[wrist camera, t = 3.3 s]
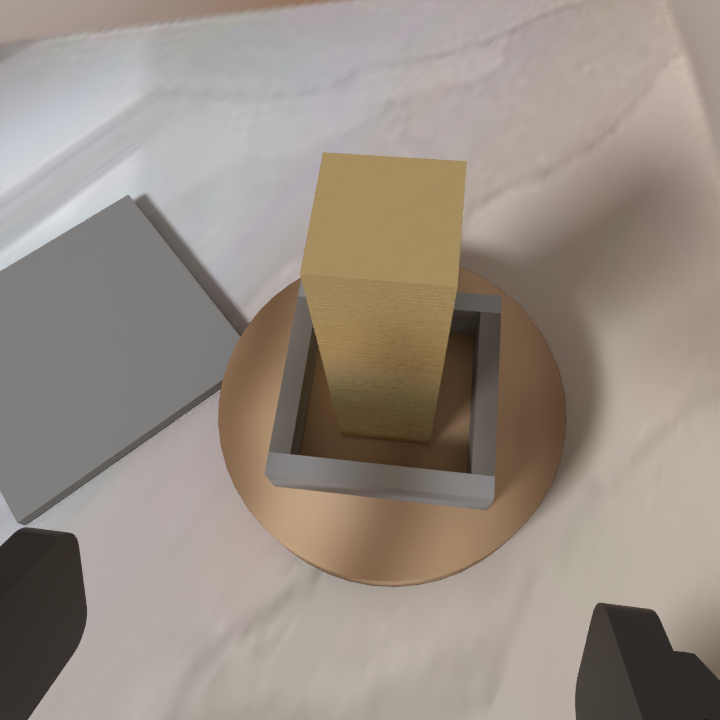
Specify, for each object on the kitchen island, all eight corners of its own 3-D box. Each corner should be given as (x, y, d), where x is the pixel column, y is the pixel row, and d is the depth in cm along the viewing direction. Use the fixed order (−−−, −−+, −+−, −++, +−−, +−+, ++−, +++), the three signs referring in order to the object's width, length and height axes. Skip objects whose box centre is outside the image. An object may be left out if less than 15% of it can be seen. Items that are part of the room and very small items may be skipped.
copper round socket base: (201, 563, 26) (164, 548, 22) (264, 271, 31) (244, 215, 27) (551, 608, 24) (583, 601, 20) (551, 294, 30) (576, 239, 26)
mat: (-80, 329, 31) (-88, 324, 30) (132, 202, 34) (128, 194, 33) (25, 525, 27) (17, 522, 26) (258, 361, 29) (255, 356, 29)
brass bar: (341, 435, 25) (300, 274, 14) (352, 355, 26) (322, 152, 15) (429, 444, 25) (457, 286, 14) (436, 363, 26) (466, 161, 15)
